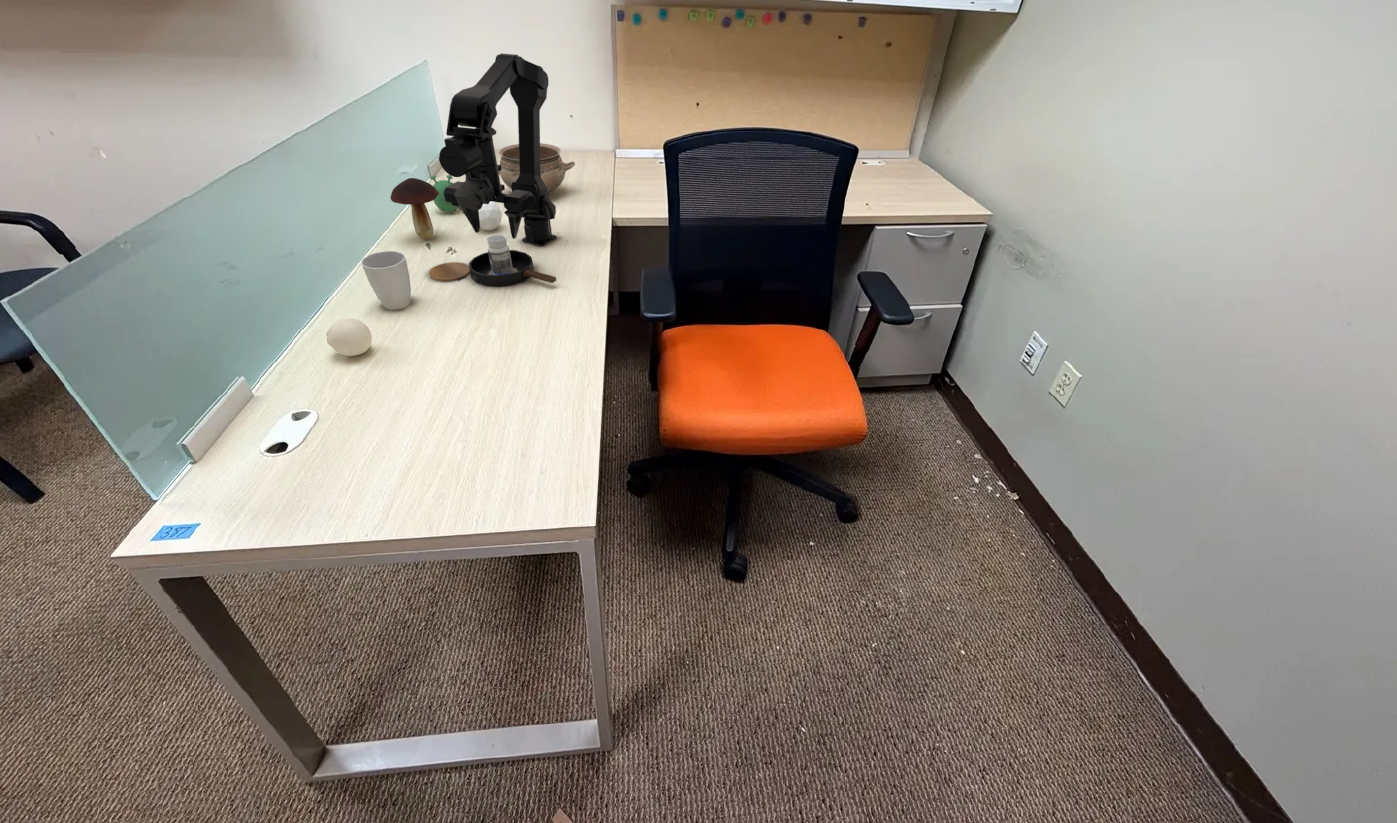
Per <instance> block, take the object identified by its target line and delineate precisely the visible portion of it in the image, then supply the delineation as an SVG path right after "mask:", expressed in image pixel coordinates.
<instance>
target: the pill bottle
mask: <svg viewBox="0 0 1397 823" xmlns="http://www.w3.org/2000/svg"><path fill="white" fill-rule="evenodd" d="M487 245H488V247H487V252H488V255H489V259H490V265H491V269H492V270H491V273H492V274H491V275H505V274H511V273H514V268H513V267H512V261H511V256H510V250H511V249H510V246H509V245H508V244H507V238H506V236H504V235H503V234H494V235H490V236H488V237H487Z"/></svg>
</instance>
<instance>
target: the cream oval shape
mask: <svg viewBox="0 0 1397 823" xmlns="http://www.w3.org/2000/svg"><path fill="white" fill-rule="evenodd" d="M325 335H326V342H327V344H328V345H329V346H330V347H331V348H332V349H333V350H334V351H335V352H336V353H338V354H339V355H342V356H345V357H356V356H361V354H364V353H365V352H367V351H368V350H369V349H370V346H371V344H372V341H373V340H372V333H371V330H370V327H368V326H367V324H366V323H364V322H363V321H362V320H359V319H357V318H351V317H350V318H348V317H347V318H342V319H339V320H336V321H335V322H333V323H332V324H331V325H330V327H329V329H327V331H326V334H325Z"/></svg>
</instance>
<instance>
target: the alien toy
mask: <svg viewBox="0 0 1397 823" xmlns="http://www.w3.org/2000/svg"><path fill="white" fill-rule="evenodd" d="M436 178H437V176H436V175H431V176H430V180H432V181H433V182H434V183H433V186H434V187H435V188H436V190H437V191H438V192H439V195H438V196H437V197H436V198H435V199H434V200H433V203H434V204H435V206H436V208H437V209H439V210H440V211H442V212H445V213H452V212H455V211H456V210H457V209H458V208H457V207H455V206H452V205H451V202H446V201H445V198H444V194H443V193H444V189H445V187H447V186H449V185H451V184H453V183H454V182H451V180H452V179H453V176H451V175H449V174H448V175H446V178H447V179H441V180H436Z"/></svg>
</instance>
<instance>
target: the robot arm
mask: <svg viewBox="0 0 1397 823" xmlns="http://www.w3.org/2000/svg"><path fill="white" fill-rule="evenodd" d="M549 82H550V80H549V76H548V73H547V72H546V71H545V70H544V68H543V67H542V66H541V65H537V64H535V63H533V62H531V61H528V60H526V59H525V58H524V57H522V56H520V55H519V54H513V53H498V54H497V55H496V56H495V60H494V62H493V63H492V64H491V65H490V66H489V68H488V69H487V70H486V72H485V73H484V74H483V75H482V76H481V78H480V79H479V80H478V81H477V82H476V83H475V85H473V86H471V87H466V88H464V89H461V90H459V91H458V92H457V93H455V94H454V95H453V97H452V98H451V101H450V104H449V112H448V117H447V118H448V119H447V126H446V132H445V133H446V136H447V137H446V138H445V139H444V140H443V141H444V146H443V147H442V148H441V149H440V151H439V153H438V154H439V156H438V161H439V165H440V166H441V168H442V169H443V171H444V172H445V173H446V174H448V175H451V176H452V177H454V178H461V177H463V176H465V180H464V181H459V180H457V181H455V182H452V183H453V184H451V185H449V186H447V187H445V189H444V193H443V194H444V198H445V201H446V202H451V205H452V206H455V207H457V209H459V210H460V211H462V213H463V214H464V216H465V217H466V218H467V221H468V223H469V224H470V226H471V227H472V229H473V231H474V232H475V233H476V234H479V233H480V232H481V228H480V220H479V211H478V210H480V209H481V208H482V205H483V204H489V203H490V201H492V202H494V203H499V204H503V207H504V208H505V211H504V212H503V213H504V214H505V215H506V216H507V218H508V224H509V225H508V226H509V231H510V235H511V238H512V239H516V238H517V237H518V233H519V229H520V227H521V223H522V222H521V221H522V219H523V224H524V225H523V229H524V236H525V237H522V239H521V241H522V242H525V243H528V244H532V245H535V246H540V247H543V246H545V245H547V244H548V243H549V244H550V242H552V241H555V239H557V238H558V236H557V235H555V234H553V233H552V232H553V231H552V224H551V220H554V219H555V218H556V213H557V207H556V204H554V202H553V201H552V200H551V198H550V197H549V193H548V191H547V187H546V185H545V183H544V182H543V180H542V178H541V175H540V143H541V114H540V112H541V108H542V107H543V105H544V103H545V101H546V100H547V98H548V87H549ZM508 90H509V94H510V96H511V98H512V100H513V101H514V104H515V105H516V107H517V129H518V130H517V131H518V132H517V133H518V144H519V176H518V178H517V180H516V182H512V185H511V188H512V189H511V188H510V189H511V192H509V193H503V191H505V190H506V188H505V186H506V185H505V184H502V183H501V179H500V178H501V177H500V174H499V171H501V170H502V168H501V165H500V164H498V162H497V155H496V150H495V145H494V139H493V136H495V135H497V130H495V128H494V127H493V124H494V122H495V120H496V118H497V116H498V111H497V105H498V103H499V102H500V100H501V99H502V98H503V96H504V95H505V94H506V93H507V91H508Z"/></svg>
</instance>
